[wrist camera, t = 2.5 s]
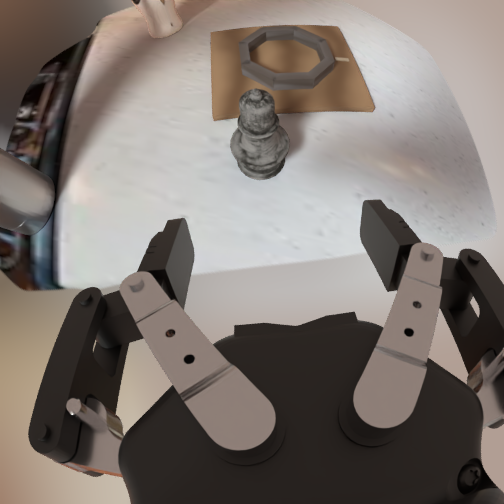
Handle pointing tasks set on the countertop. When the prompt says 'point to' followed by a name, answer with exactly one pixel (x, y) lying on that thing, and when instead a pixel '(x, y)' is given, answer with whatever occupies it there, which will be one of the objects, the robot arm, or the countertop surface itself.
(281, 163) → the grey turned stone piece
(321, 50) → the socket plate
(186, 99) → the countertop surface
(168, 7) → the beer glass
